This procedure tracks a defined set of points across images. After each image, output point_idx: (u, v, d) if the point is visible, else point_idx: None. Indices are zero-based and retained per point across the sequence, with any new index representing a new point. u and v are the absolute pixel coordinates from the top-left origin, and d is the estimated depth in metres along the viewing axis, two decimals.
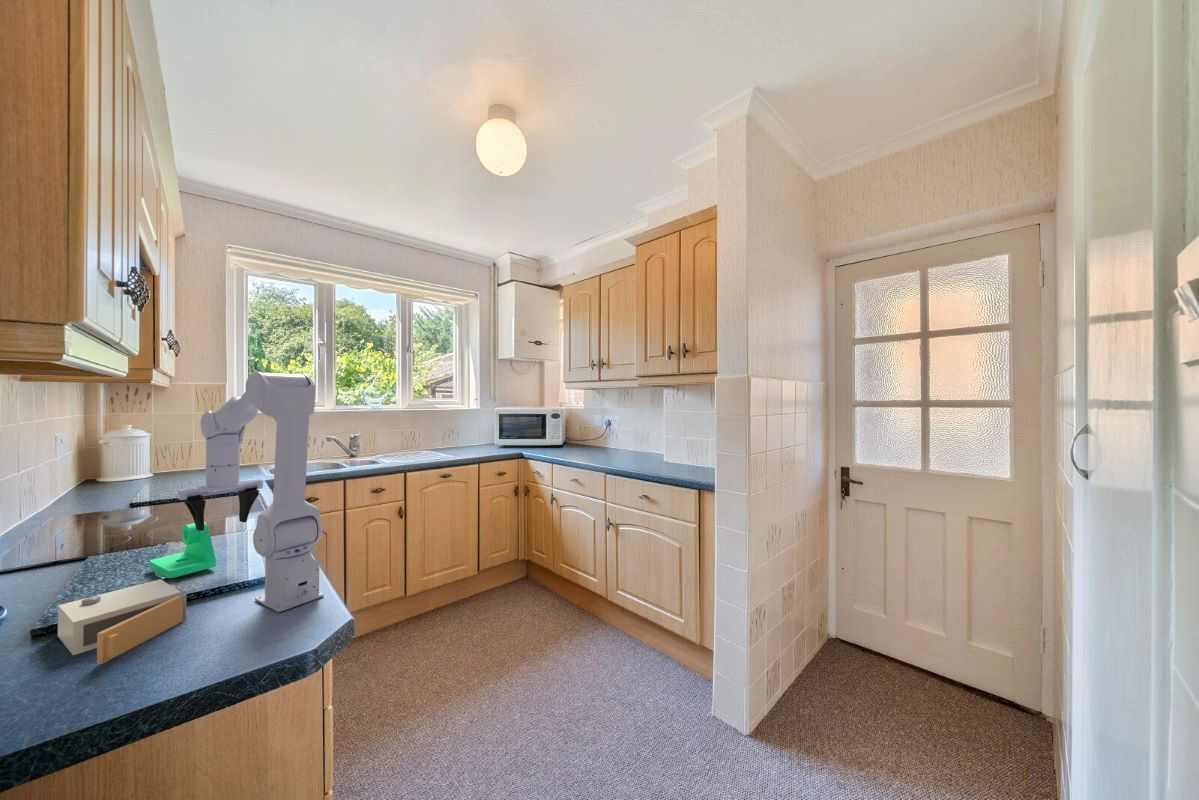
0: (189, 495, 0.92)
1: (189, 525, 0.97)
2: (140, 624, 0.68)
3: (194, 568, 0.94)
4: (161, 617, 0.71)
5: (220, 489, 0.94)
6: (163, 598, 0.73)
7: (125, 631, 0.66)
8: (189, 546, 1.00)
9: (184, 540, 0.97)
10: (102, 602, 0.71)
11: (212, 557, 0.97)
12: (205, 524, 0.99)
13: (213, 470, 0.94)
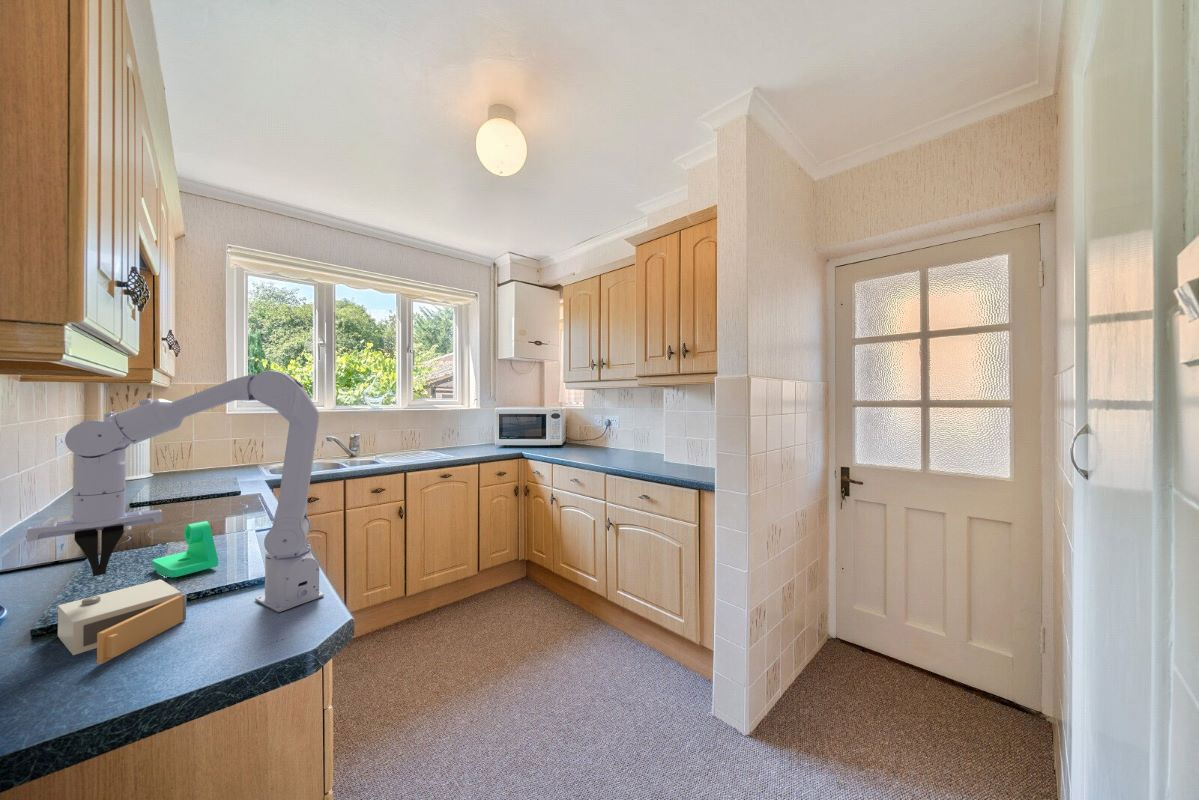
0: (44, 534, 0.67)
1: (191, 525, 0.97)
2: (140, 624, 0.68)
3: (196, 567, 0.94)
4: (161, 617, 0.71)
5: (87, 526, 0.69)
6: (163, 598, 0.73)
7: (125, 631, 0.66)
8: (191, 546, 1.00)
9: (186, 540, 0.97)
10: (102, 602, 0.71)
11: (214, 557, 0.97)
12: (207, 524, 0.99)
13: (79, 500, 0.69)
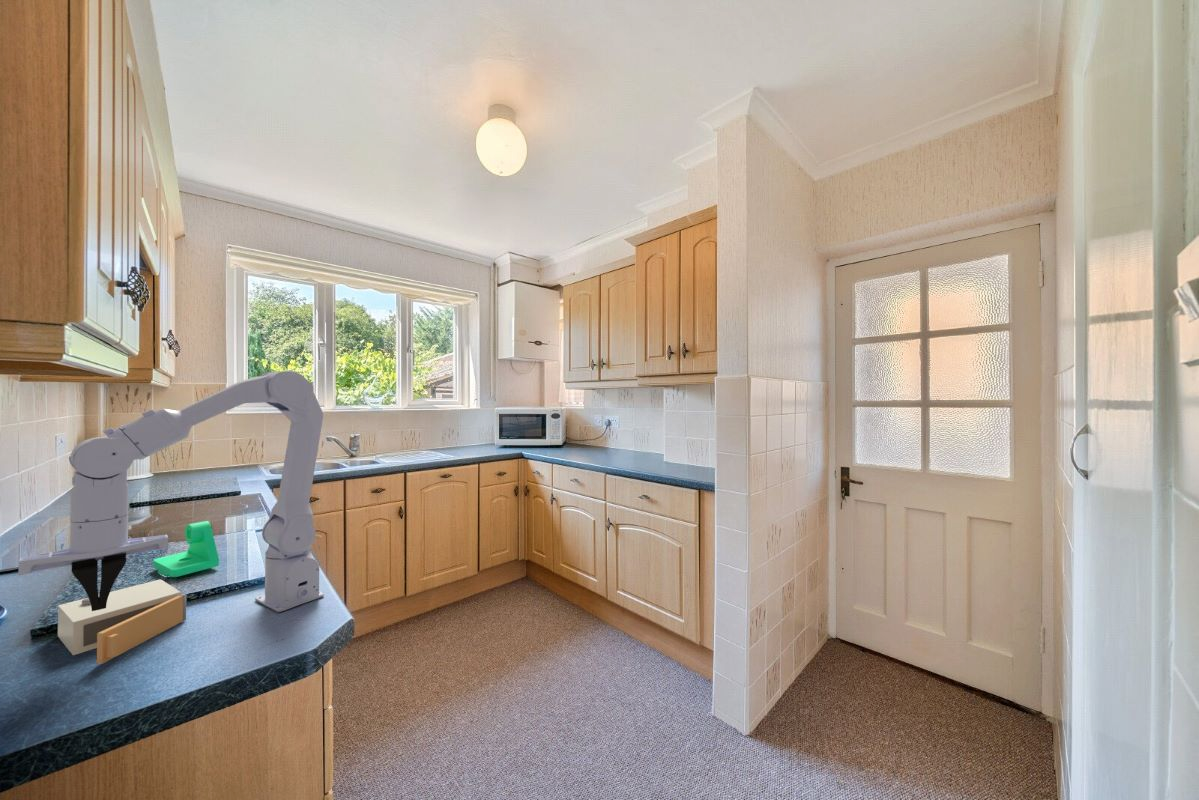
0: (37, 566, 0.60)
1: (192, 524, 0.97)
2: (140, 624, 0.68)
3: (197, 567, 0.94)
4: (161, 617, 0.71)
5: (86, 556, 0.62)
6: (163, 598, 0.73)
7: (125, 631, 0.66)
8: (192, 546, 1.00)
9: (187, 539, 0.98)
10: None
11: (215, 556, 0.97)
12: (208, 523, 0.99)
13: (77, 527, 0.62)
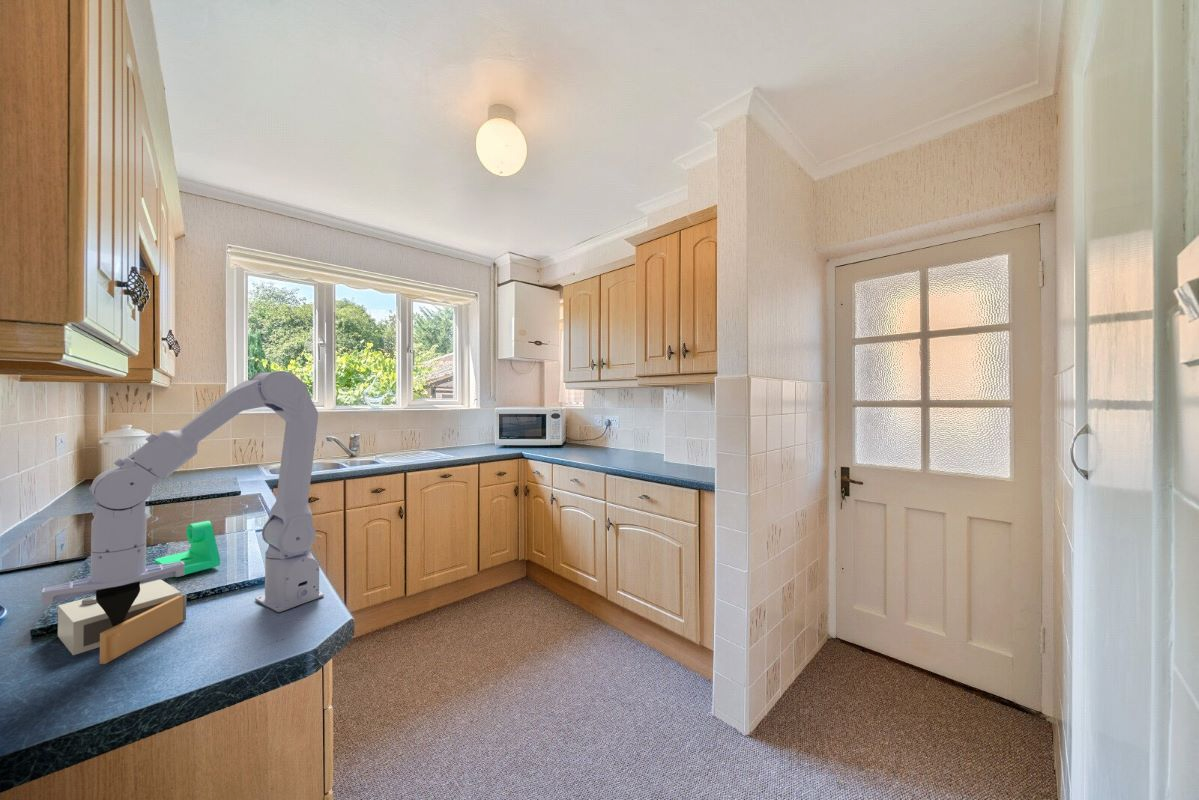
0: (59, 596, 0.62)
1: (194, 524, 0.98)
2: (142, 624, 0.68)
3: (198, 567, 0.94)
4: (162, 617, 0.71)
5: (106, 586, 0.64)
6: (163, 598, 0.73)
7: (127, 631, 0.66)
8: (194, 545, 1.01)
9: (189, 539, 0.98)
10: None
11: (216, 556, 0.97)
12: (209, 523, 1.00)
13: (97, 558, 0.64)
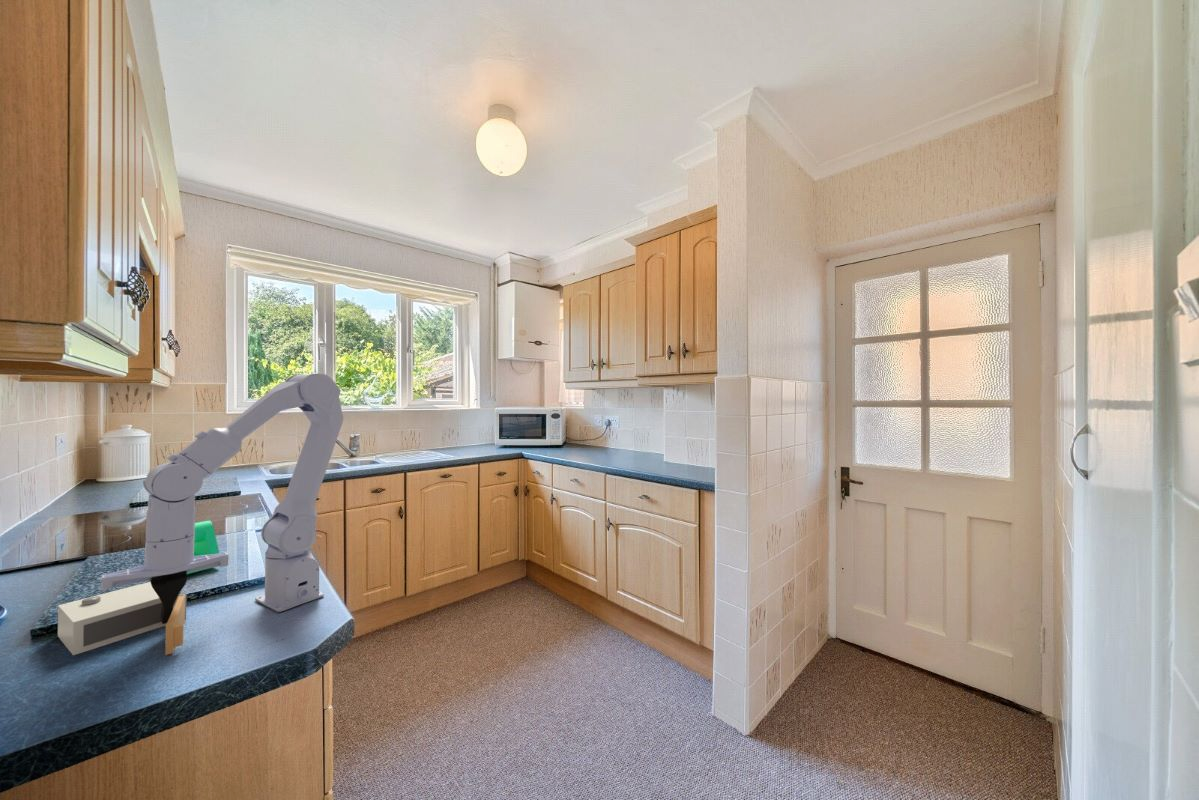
0: (117, 583, 0.66)
1: None
2: (178, 619, 0.69)
3: None
4: (181, 614, 0.72)
5: (160, 574, 0.68)
6: None
7: (176, 624, 0.68)
8: (195, 545, 1.01)
9: None
10: (102, 602, 0.71)
11: None
12: (210, 523, 1.00)
13: (152, 547, 0.68)
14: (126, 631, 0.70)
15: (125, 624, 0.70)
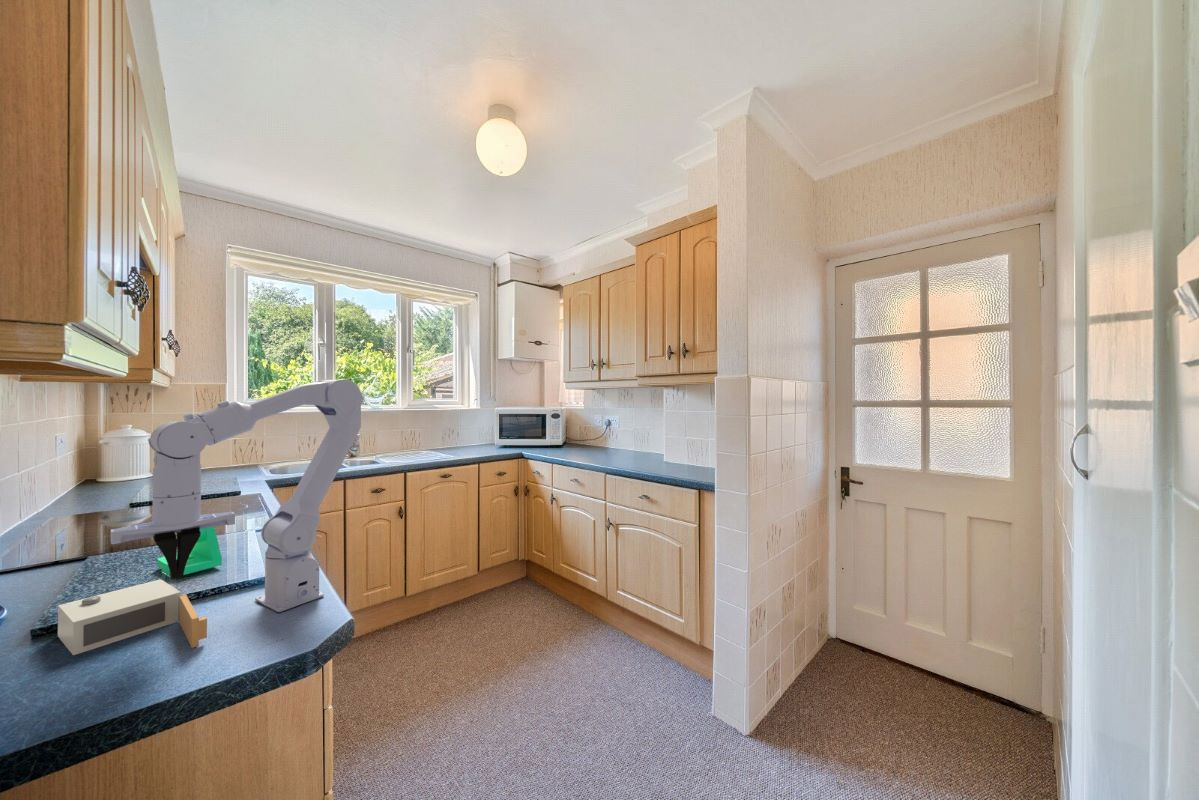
0: (126, 537, 0.67)
1: None
2: None
3: (200, 566, 0.95)
4: None
5: (168, 529, 0.69)
6: (163, 598, 0.73)
7: None
8: (196, 545, 1.01)
9: None
10: (102, 602, 0.71)
11: (218, 556, 0.97)
12: None
13: (159, 502, 0.68)
14: (126, 631, 0.70)
15: (125, 624, 0.70)
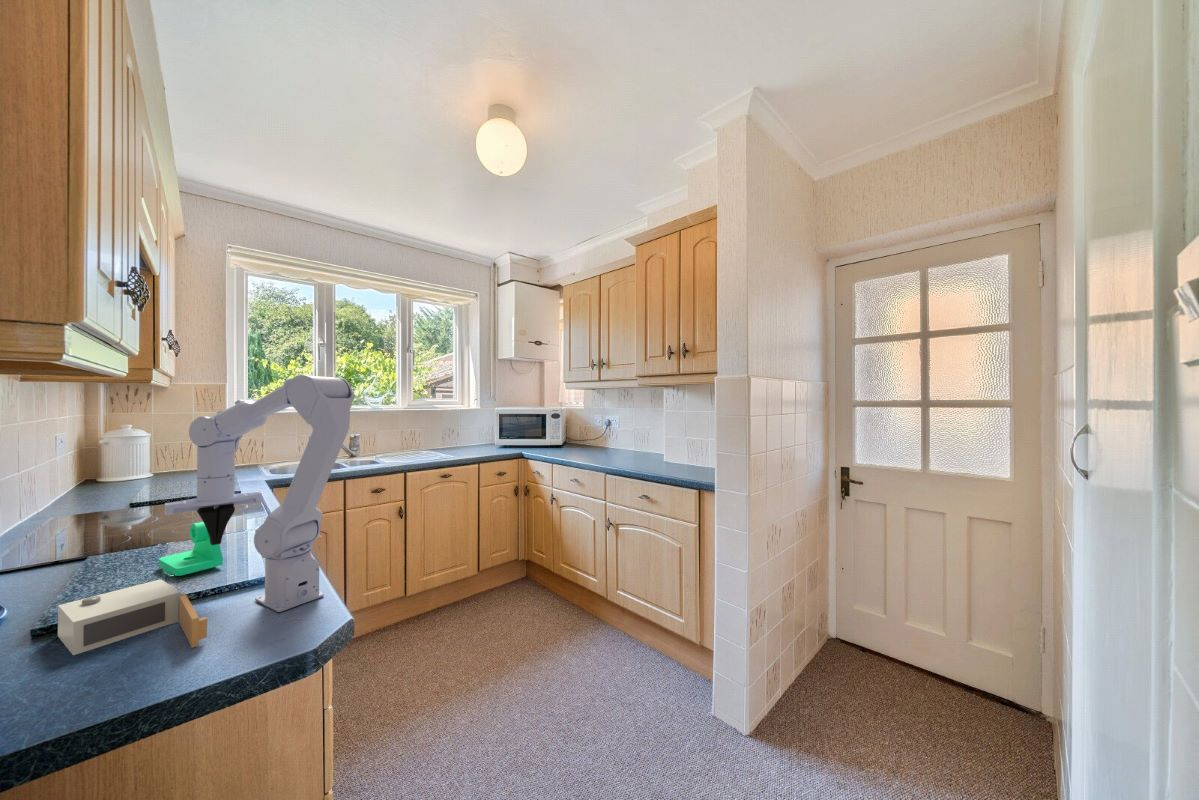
0: (176, 510, 0.83)
1: (197, 524, 0.98)
2: None
3: (201, 566, 0.95)
4: None
5: (210, 503, 0.84)
6: (163, 598, 0.73)
7: None
8: (197, 545, 1.01)
9: (192, 538, 0.98)
10: (102, 602, 0.71)
11: (219, 555, 0.98)
12: None
13: (203, 482, 0.84)
14: (126, 631, 0.70)
15: (125, 624, 0.70)
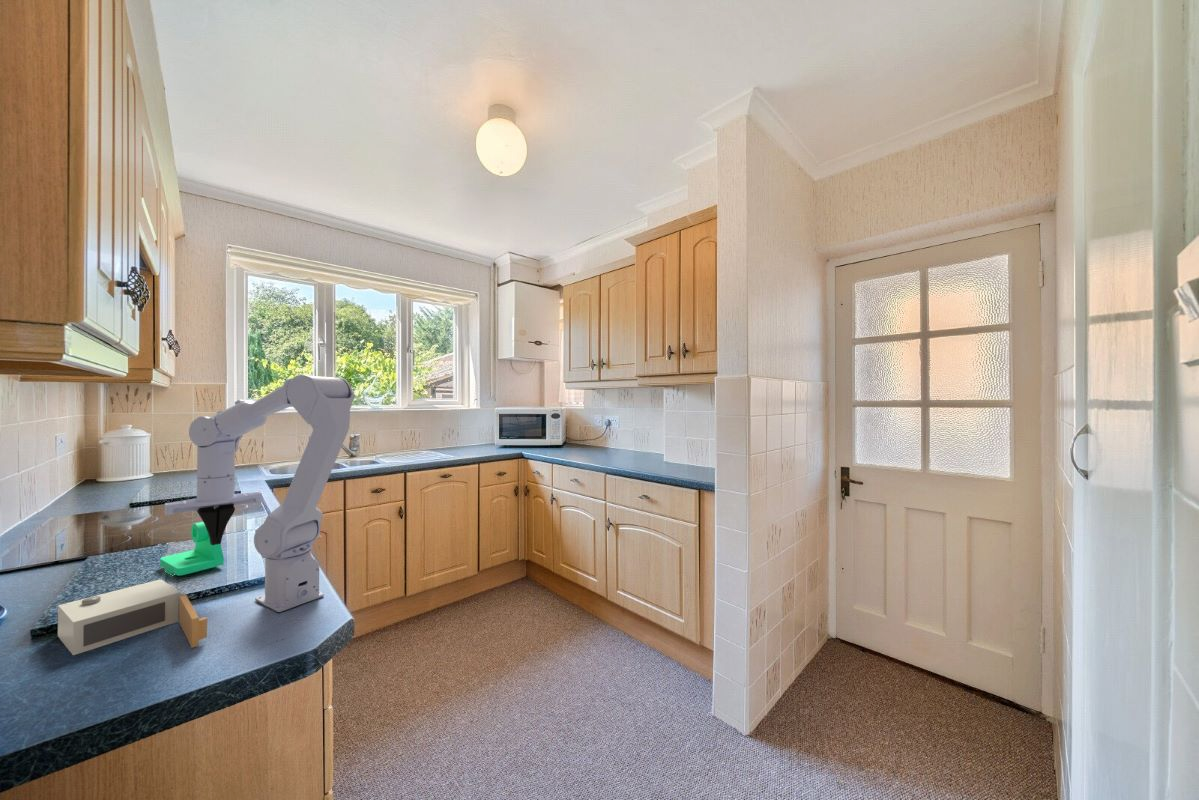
0: (176, 510, 0.83)
1: (198, 523, 0.98)
2: None
3: (202, 566, 0.95)
4: None
5: (210, 503, 0.84)
6: (163, 598, 0.73)
7: None
8: (198, 544, 1.01)
9: (193, 538, 0.99)
10: (102, 602, 0.71)
11: (220, 555, 0.98)
12: None
13: (203, 482, 0.84)
14: (126, 631, 0.70)
15: (125, 624, 0.70)
